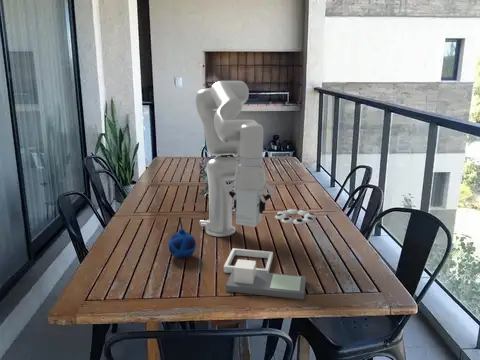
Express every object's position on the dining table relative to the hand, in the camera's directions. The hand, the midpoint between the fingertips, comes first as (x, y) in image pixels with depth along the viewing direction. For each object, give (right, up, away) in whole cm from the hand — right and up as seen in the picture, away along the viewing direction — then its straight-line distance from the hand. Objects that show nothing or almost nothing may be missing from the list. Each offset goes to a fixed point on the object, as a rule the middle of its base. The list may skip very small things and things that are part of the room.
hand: (249, 210), depth 145 cm
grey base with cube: (+5, -23, -10) cm, 26 cm away
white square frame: (0, -19, +5) cm, 20 cm away
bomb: (-24, -18, +10) cm, 32 cm away
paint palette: (+23, -7, +53) cm, 58 cm away
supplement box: (0, -4, +1) cm, 4 cm away
